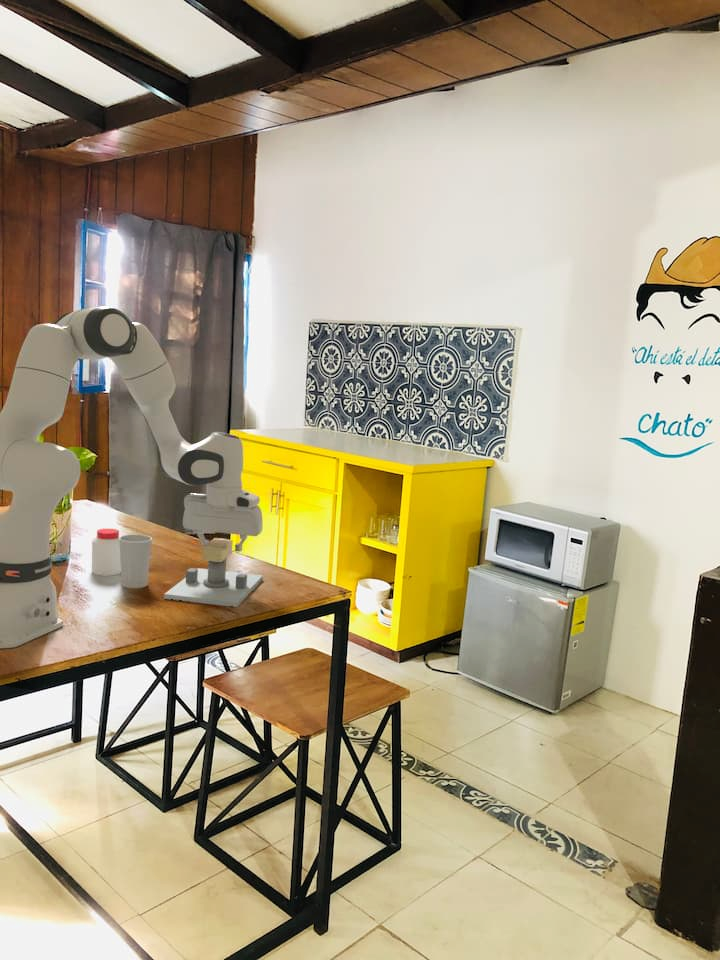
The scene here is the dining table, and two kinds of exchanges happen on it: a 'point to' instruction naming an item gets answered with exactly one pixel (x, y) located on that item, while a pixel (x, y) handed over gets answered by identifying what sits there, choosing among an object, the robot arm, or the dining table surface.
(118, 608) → the dining table surface
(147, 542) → the cup
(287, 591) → the dining table surface
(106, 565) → the pill bottle
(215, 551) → the tan parcel with label
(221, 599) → the base
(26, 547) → the robot arm
